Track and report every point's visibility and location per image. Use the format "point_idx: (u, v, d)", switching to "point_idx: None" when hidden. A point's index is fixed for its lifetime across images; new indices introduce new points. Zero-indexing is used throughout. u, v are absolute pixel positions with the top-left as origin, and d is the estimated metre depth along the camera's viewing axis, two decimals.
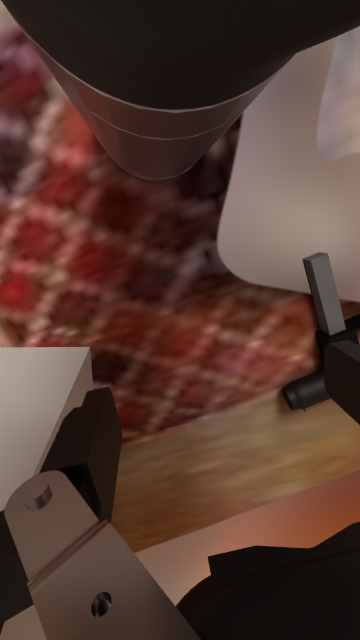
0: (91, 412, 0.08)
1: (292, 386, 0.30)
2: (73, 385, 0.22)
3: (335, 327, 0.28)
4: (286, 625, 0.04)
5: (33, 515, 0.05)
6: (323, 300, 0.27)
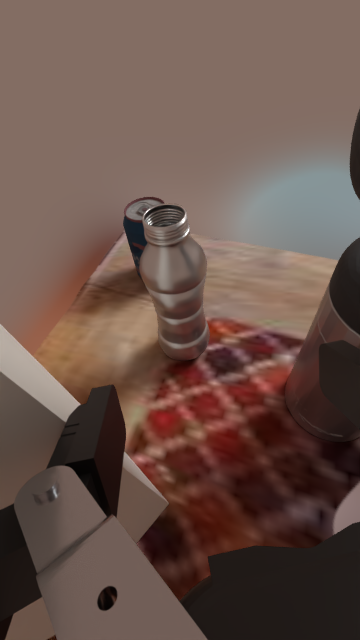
0: (96, 409, 0.09)
1: None
2: (157, 495, 0.23)
3: None
4: (286, 625, 0.04)
5: (42, 508, 0.06)
6: None
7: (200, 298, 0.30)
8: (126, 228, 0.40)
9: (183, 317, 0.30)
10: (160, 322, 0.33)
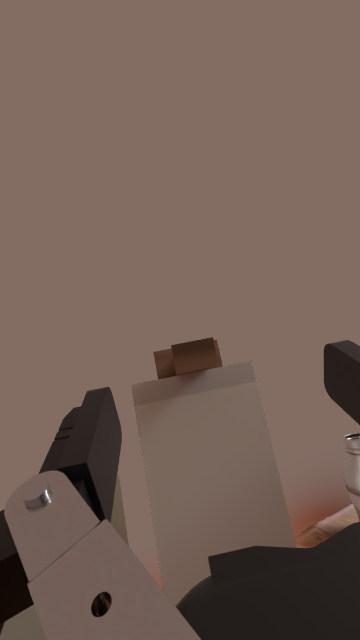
0: (91, 412, 0.08)
1: None
2: None
3: None
4: (286, 625, 0.04)
5: (33, 515, 0.05)
6: None
7: None
8: None
9: None
10: None
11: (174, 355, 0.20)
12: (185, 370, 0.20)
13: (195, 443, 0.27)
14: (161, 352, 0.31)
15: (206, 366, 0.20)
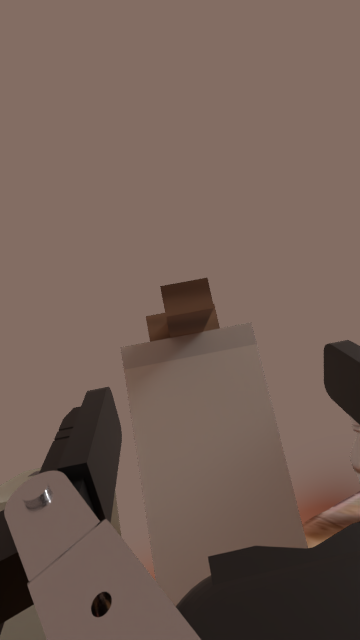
0: (91, 412, 0.08)
1: None
2: None
3: None
4: (286, 625, 0.04)
5: (33, 515, 0.05)
6: None
7: None
8: None
9: None
10: None
11: (164, 297, 0.18)
12: (176, 313, 0.18)
13: (189, 410, 0.25)
14: (154, 316, 0.29)
15: (199, 309, 0.18)
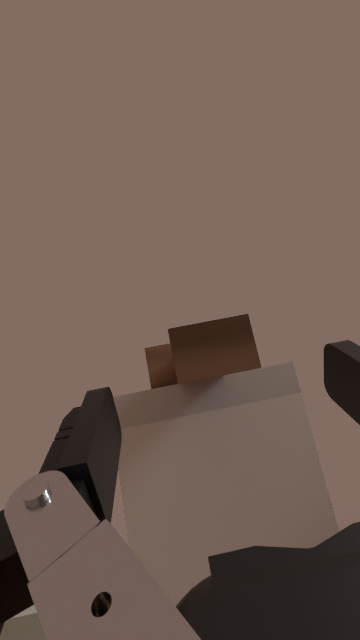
0: (91, 412, 0.09)
1: None
2: None
3: None
4: (286, 625, 0.04)
5: (33, 515, 0.05)
6: None
7: None
8: None
9: None
10: None
11: (174, 348, 0.10)
12: (195, 377, 0.10)
13: (207, 492, 0.17)
14: (156, 348, 0.21)
15: (236, 370, 0.10)
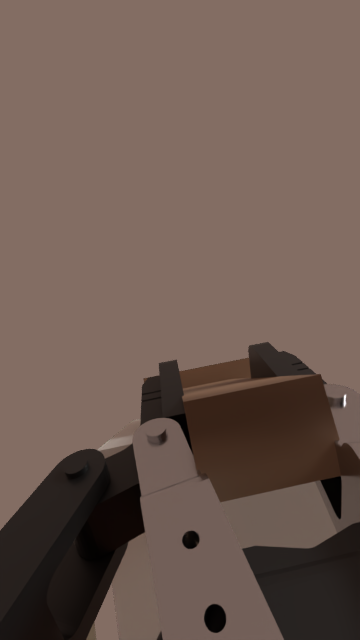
0: (172, 378, 0.10)
1: None
2: None
3: None
4: (286, 625, 0.04)
5: (162, 447, 0.07)
6: None
7: None
8: None
9: None
10: None
11: (195, 437, 0.06)
12: (234, 492, 0.06)
13: None
14: None
15: (306, 477, 0.06)
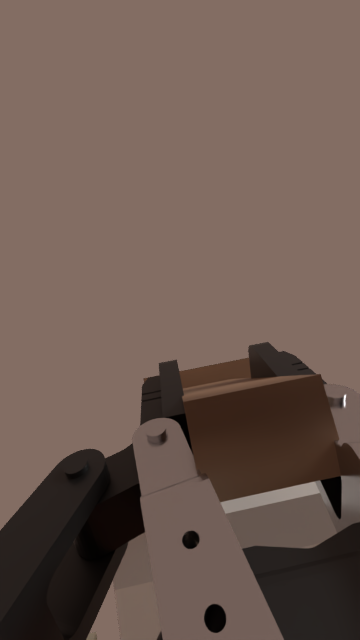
0: (172, 378, 0.10)
1: None
2: None
3: None
4: (286, 625, 0.04)
5: (162, 447, 0.07)
6: None
7: None
8: None
9: None
10: None
11: (195, 437, 0.06)
12: (234, 492, 0.06)
13: None
14: None
15: (306, 477, 0.06)
